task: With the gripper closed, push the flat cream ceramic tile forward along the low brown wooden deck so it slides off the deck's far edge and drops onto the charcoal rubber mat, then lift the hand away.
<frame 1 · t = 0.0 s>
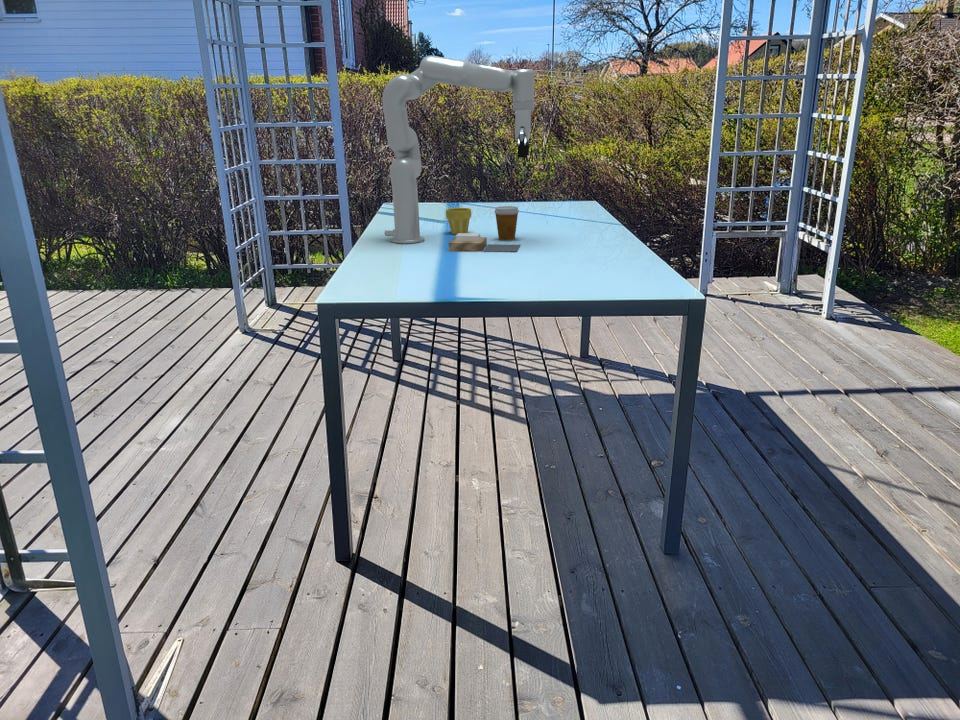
hand: (523, 156, 258), 31 cm above the table, tool pointing down, fingers open, 9 cm apart
disposable coffee cup: (506, 239, 275), on the table
plant pot: (459, 233, 290), on the table
mat: (502, 248, 257), on the table
tile: (468, 240, 257), point 3 cm above the table, touching deck
deck: (468, 248, 258), on the table
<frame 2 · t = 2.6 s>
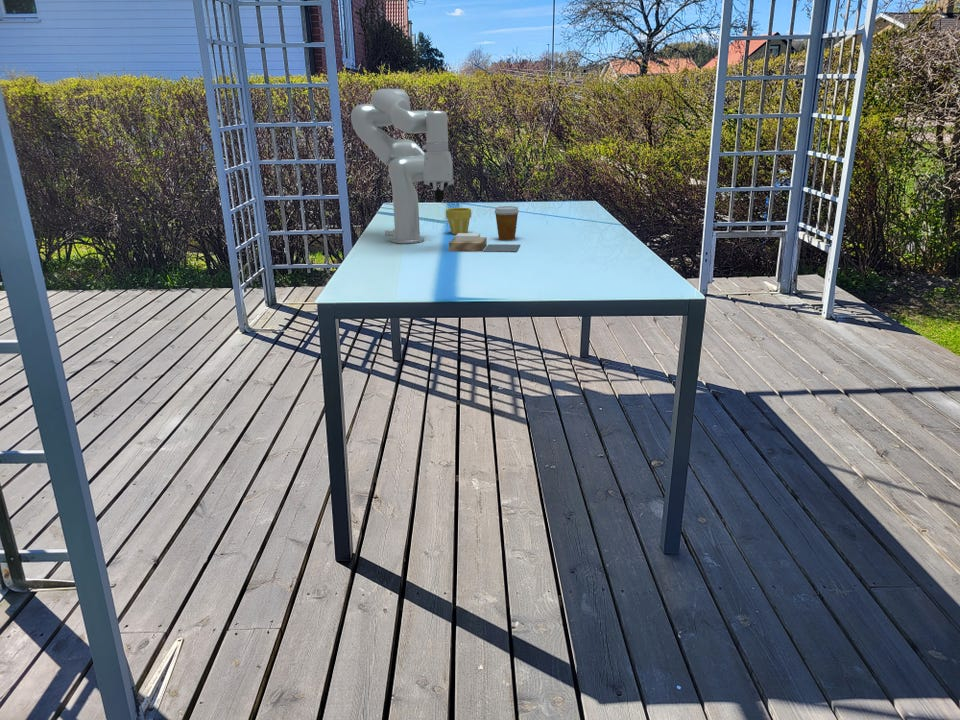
hand: (439, 201, 254), 17 cm above the table, tool pointing down, fingers closed
nothing on the table moved.
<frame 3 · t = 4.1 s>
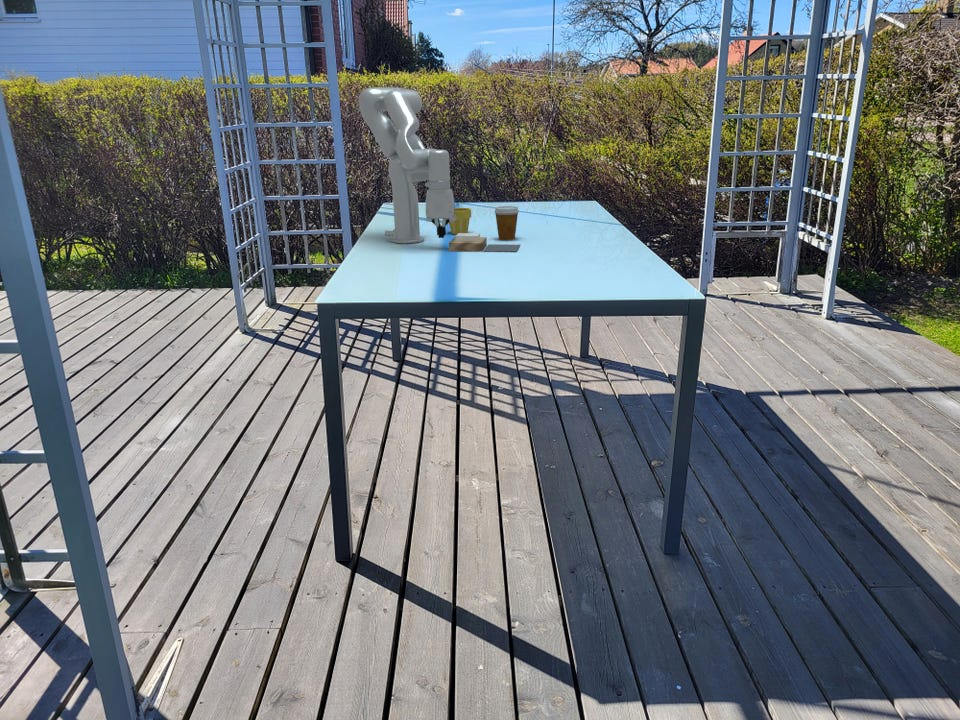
hand: (441, 237, 258), 4 cm above the table, tool pointing down, fingers closed
nothing on the table moved.
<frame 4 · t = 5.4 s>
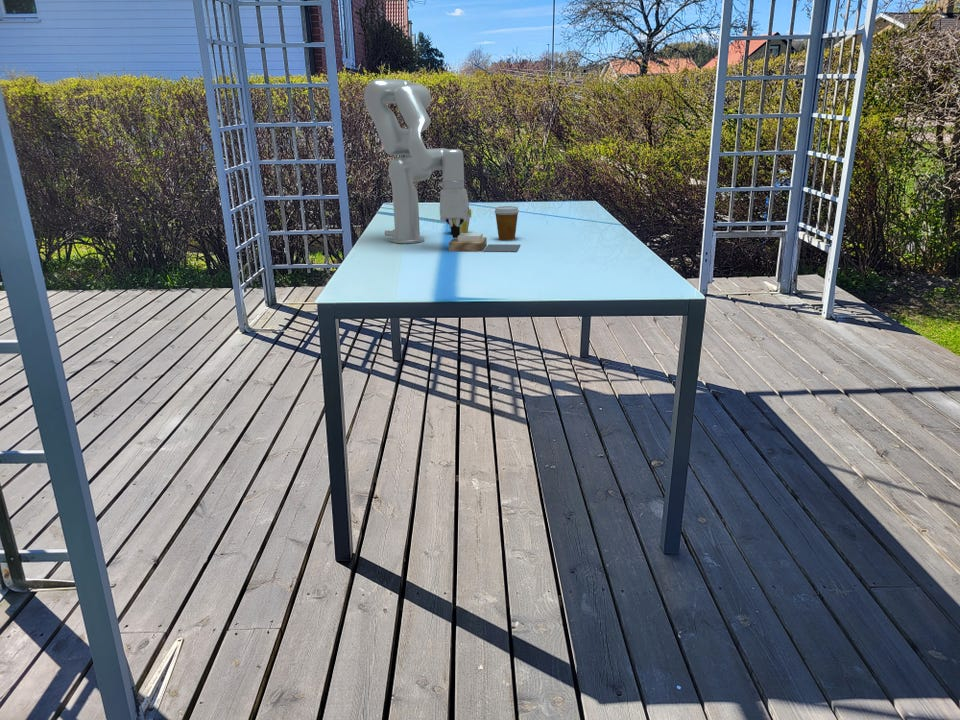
hand: (455, 237, 258), 4 cm above the table, tool pointing down, fingers closed
tile: (470, 240, 257), point 3 cm above the table, touching deck, gripper
everything else where it was.
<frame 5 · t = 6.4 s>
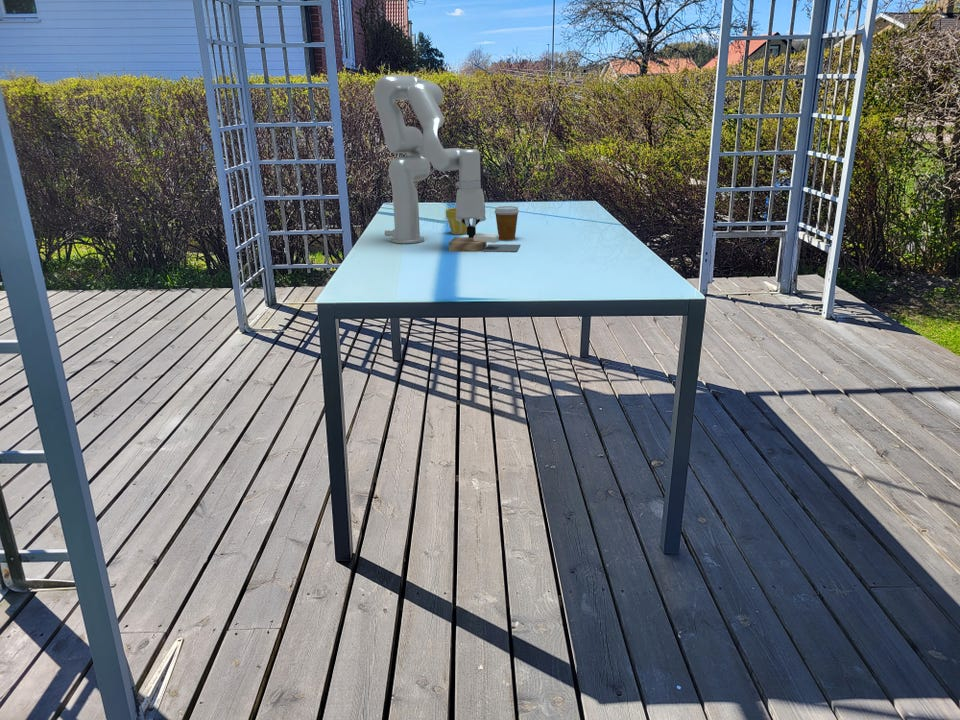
hand: (471, 237, 257), 4 cm above the table, tool pointing down, fingers closed
tile: (486, 240, 256), point 3 cm above the table, touching deck, gripper
everything else where it was.
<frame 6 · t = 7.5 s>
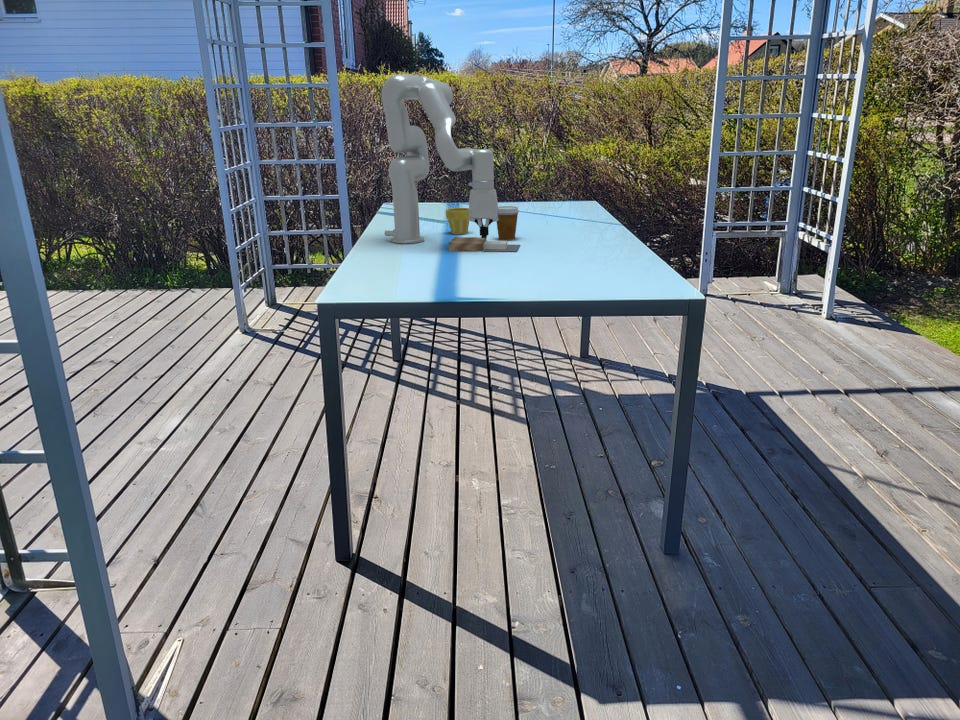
hand: (484, 237, 256), 4 cm above the table, tool pointing down, fingers closed
tile: (495, 247, 257), resting on mat
everything else where it was.
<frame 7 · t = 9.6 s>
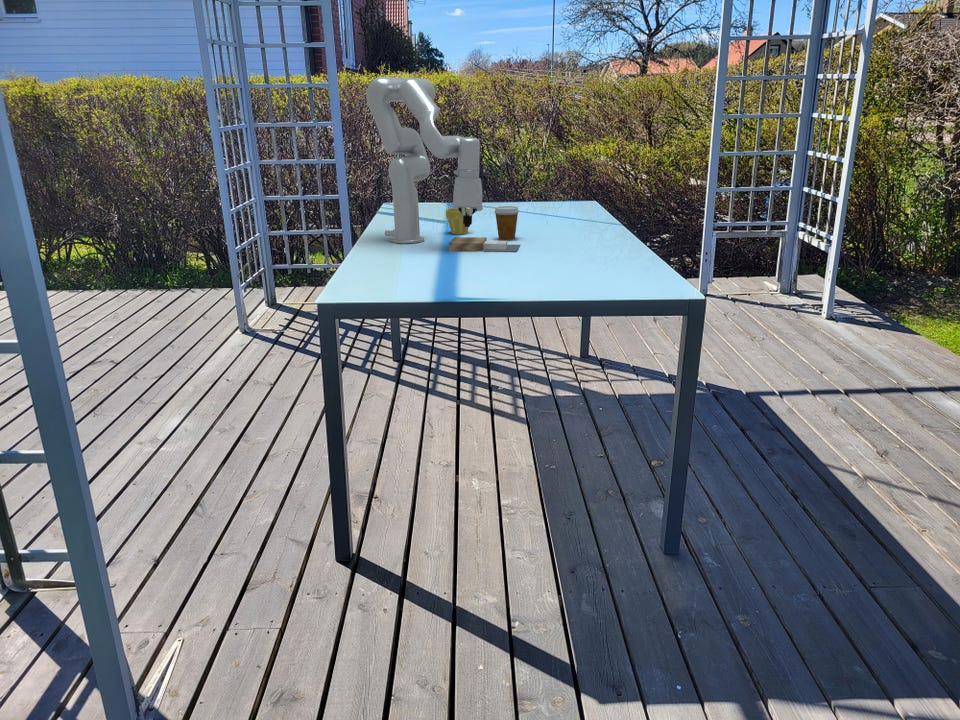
hand: (467, 226, 256), 8 cm above the table, tool pointing down, fingers closed
nothing on the table moved.
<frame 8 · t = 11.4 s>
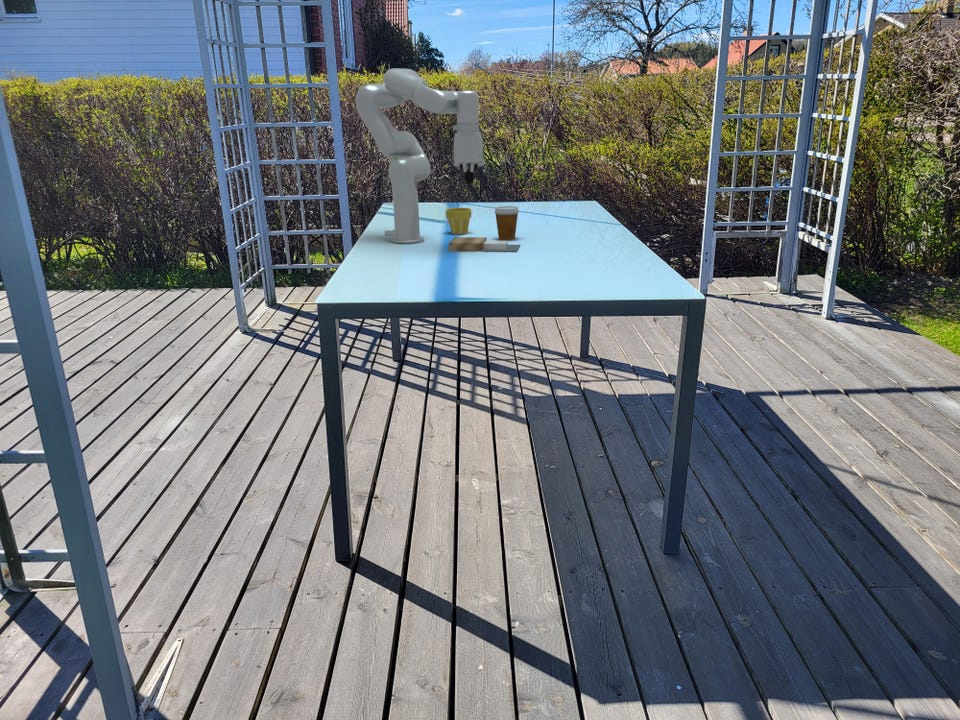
hand: (469, 183, 251), 23 cm above the table, tool pointing down, fingers closed
nothing on the table moved.
at the end: tile resting on mat; tile inside the target area on the mat (2.4 cm from its centre), point 0.3 cm above the mat's base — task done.
